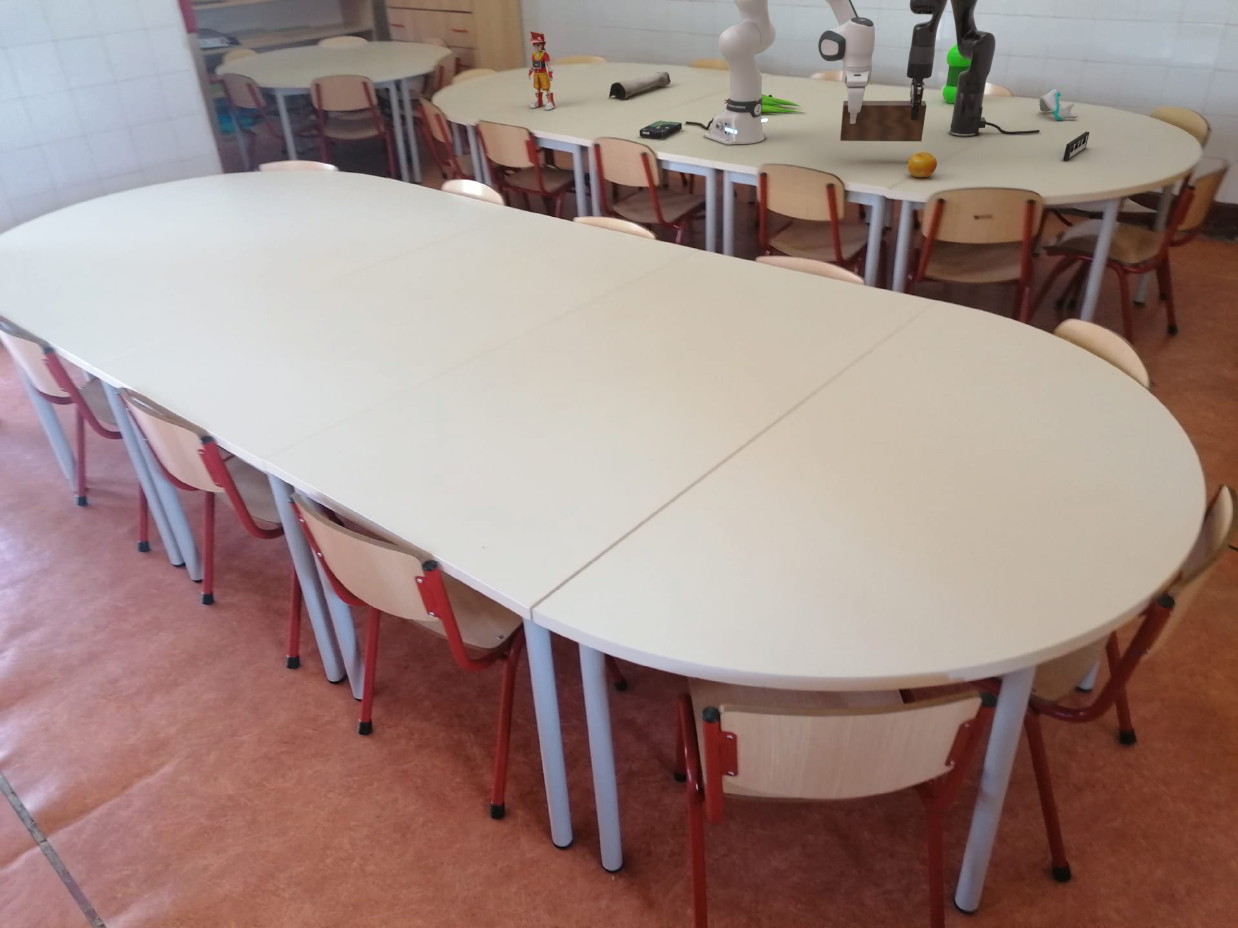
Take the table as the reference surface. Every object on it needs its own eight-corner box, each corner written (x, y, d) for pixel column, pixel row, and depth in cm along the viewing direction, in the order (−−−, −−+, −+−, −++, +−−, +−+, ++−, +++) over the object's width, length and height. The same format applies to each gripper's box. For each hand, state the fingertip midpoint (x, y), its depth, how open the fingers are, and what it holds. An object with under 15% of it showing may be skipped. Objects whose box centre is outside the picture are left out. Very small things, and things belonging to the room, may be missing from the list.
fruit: (901, 167, 279) (918, 144, 275) (903, 170, 286) (919, 147, 283) (924, 183, 277) (941, 160, 274) (925, 185, 285) (941, 162, 282)
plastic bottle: (973, 101, 354) (984, 32, 339) (955, 106, 349) (966, 36, 335) (952, 97, 361) (962, 29, 346) (934, 102, 356) (944, 33, 342)
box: (920, 136, 293) (925, 100, 286) (921, 141, 288) (926, 105, 281) (840, 136, 297) (843, 101, 291) (840, 141, 293) (843, 105, 286)
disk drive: (663, 140, 332) (682, 129, 342) (663, 132, 330) (682, 122, 340) (639, 137, 336) (658, 127, 346) (638, 130, 335) (658, 119, 345)
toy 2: (719, 111, 356) (789, 123, 343) (720, 98, 353) (791, 109, 341) (748, 101, 376) (815, 112, 364) (750, 88, 374) (817, 99, 361)
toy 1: (525, 109, 381) (517, 32, 364) (534, 104, 388) (527, 28, 371) (550, 110, 377) (543, 32, 360) (559, 105, 384) (553, 28, 367)
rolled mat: (651, 76, 408) (662, 61, 399) (662, 93, 408) (674, 79, 400) (605, 92, 391) (616, 77, 383) (617, 110, 391) (628, 95, 383)
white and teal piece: (1033, 88, 332) (1060, 81, 331) (1032, 116, 338) (1059, 109, 337) (1052, 98, 319) (1080, 90, 318) (1051, 127, 325) (1079, 119, 324)
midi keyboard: (1067, 160, 287) (1070, 145, 284) (1062, 160, 288) (1066, 144, 285) (1086, 147, 297) (1090, 132, 294) (1082, 147, 298) (1085, 131, 295)
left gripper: (846, 68, 292) (842, 112, 300) (846, 82, 276) (842, 128, 284) (866, 68, 291) (861, 112, 299) (867, 82, 275) (863, 128, 282)
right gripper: (935, 65, 271) (927, 123, 280) (931, 55, 282) (924, 111, 292) (909, 65, 272) (902, 123, 282) (907, 56, 284) (900, 111, 293)
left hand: (852, 120), depth 291 cm, fingers closed on box, 6 cm apart
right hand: (913, 116), depth 287 cm, fingers closed on box, 6 cm apart
